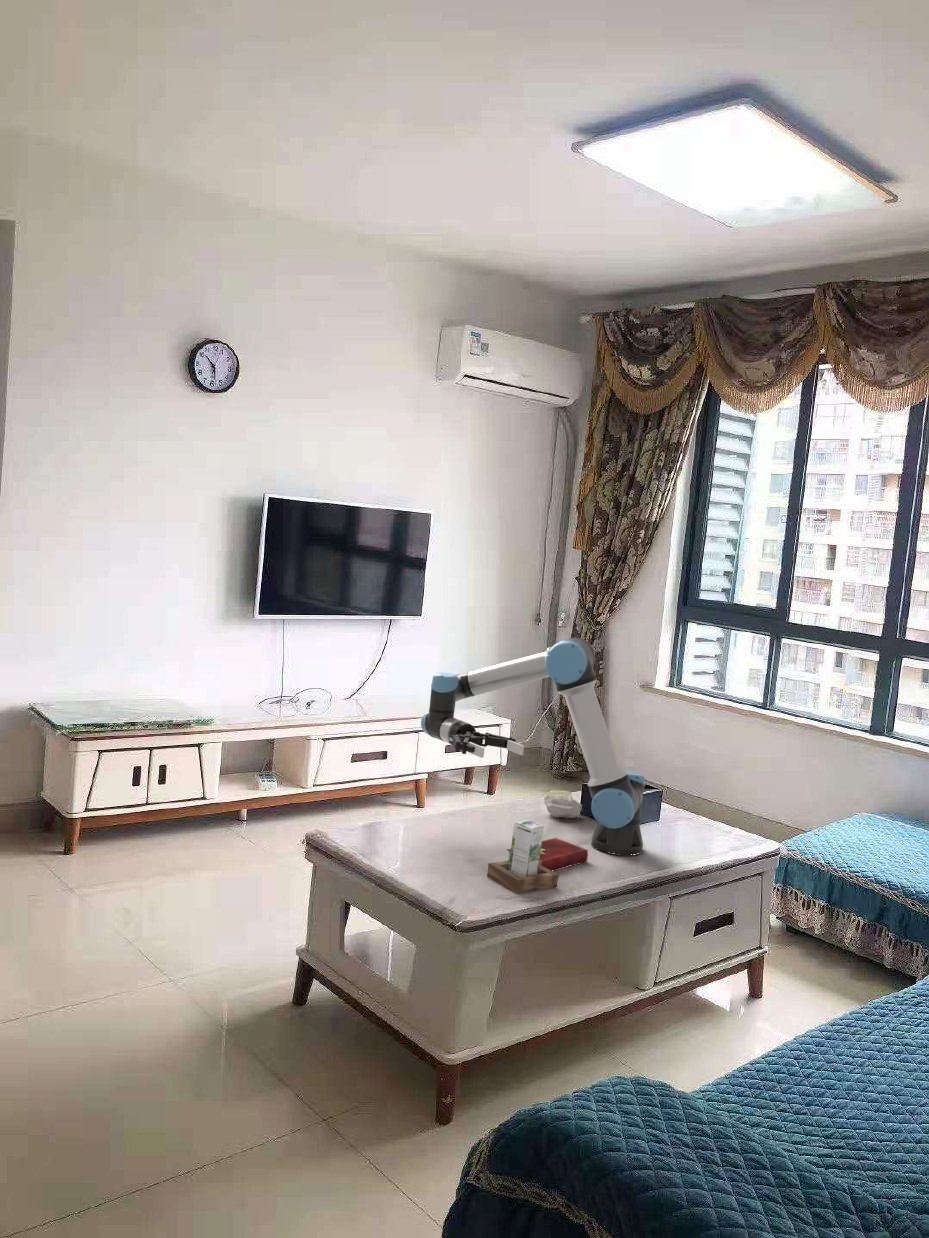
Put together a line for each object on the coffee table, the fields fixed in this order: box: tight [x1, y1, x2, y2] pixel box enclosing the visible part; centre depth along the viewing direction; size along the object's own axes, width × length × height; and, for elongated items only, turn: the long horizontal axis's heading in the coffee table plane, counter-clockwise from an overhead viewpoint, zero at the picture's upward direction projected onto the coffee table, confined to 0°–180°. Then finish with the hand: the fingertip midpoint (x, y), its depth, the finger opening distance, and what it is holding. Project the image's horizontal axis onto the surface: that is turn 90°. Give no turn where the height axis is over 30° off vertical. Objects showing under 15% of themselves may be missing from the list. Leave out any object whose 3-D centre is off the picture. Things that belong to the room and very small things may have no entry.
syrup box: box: [508, 819, 545, 877], centre depth 265 cm, size 6×6×14 cm
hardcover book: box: [506, 837, 589, 871], centre depth 284 cm, size 12×21×4 cm, turn 135°
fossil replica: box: [543, 789, 583, 819], centre depth 330 cm, size 12×8×10 cm
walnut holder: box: [486, 860, 560, 895], centre depth 265 cm, size 13×13×4 cm
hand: (503, 751), depth 278 cm, fingers open, 13 cm apart
